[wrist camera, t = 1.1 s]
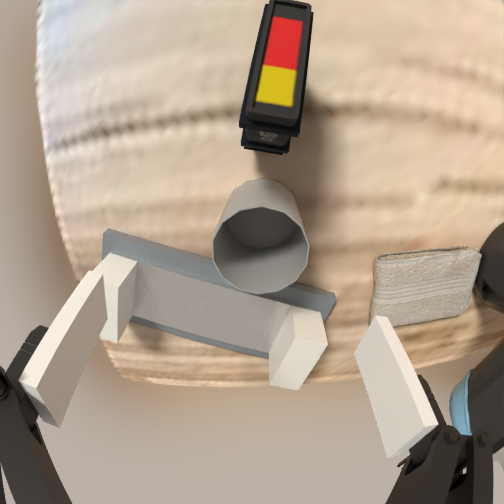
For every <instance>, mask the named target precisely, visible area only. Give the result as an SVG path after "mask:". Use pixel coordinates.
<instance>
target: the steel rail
mask: <svg viewBox="0 0 504 504" xmlns="http://www.w3.org/2000/svg"><path fill="white" fill-rule="evenodd" d="M110 253H112V254H115V255H118V256H122V257H125V258H128V259H131V260H134V261H137V272H136V282H135V293H134V307H133V315H134V316H137V317H140V318H143V319H146V320H149V321H153V322H156V323H159V324H162V325H165V326H168V327H172V328H175V329H178V330H182V331H185V332H189V333H192V334H195V335H199V336H203V337H206V338H210V339H214V340H217V341H221V342H225V343H229V344H233V345H237V346H241V347H245V348H249V349H253V350H258V351H262V352H266V353H269V352H270V350H271V348H272V346H273V344H274V342H275V340H276V338H277V336H278V334H279V332H280V330H281V328H282V326H283V323H284V321H285V319H286V317H287V315H288V313H289V311H290V309H291V307H292V306H296V307H300V308H304V309H308V310H312V311H316V312H320V309H318V308H314V307H310V306H306V305H302V304H298V303H294V302H291V301H287V300H283V299H279V298H275V297H271V296H268V295H264V294H255V293H251V292H247V291H243V290H239V289H237V288H236V287H234V286H231V285H227V284H224V283H220V282H217V281H213V280H210V279H206V278H203V277H199V276H196V275H193V274H189V273H186V272H182V271H179V270H176V269H172V268H169V267H166V266H162V265H159V264H156V263H153V262H149V261H146V260H143V259H140V258H136V257H133V256H130V255H127V254H124V253H121V252H117V251H114V250H112V251H111V252H110ZM320 313H321V312H320Z"/></svg>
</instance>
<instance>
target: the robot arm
mask: <svg viewBox="0 0 504 504" xmlns="http://www.w3.org/2000/svg"><path fill="white" fill-rule="evenodd" d="M479 253H480V254H481V255H482V257H481V259H480V263H479V268H478V272H477V275H476V279H475V282H474V285H473V287H474V291H475V293H476V294H477V296H478V297H479V298H480V299H481V300H482V302H483V303H484V304H486V305H487V306H489V307H491V308H493V309H495V310H497V311H499V312H501V313H503V314H504V223H502V224H501V225H499V226H498V227H497V228H496V229H495V230H494V231H493V232H492V233H491V235H490V236H489V237H488V238H487V240H486V241H485V243H484V245H483V246H482V248H481V250H480V252H479ZM107 319H108V316H107V307H106V298H105V288H104V277H103V274H102V273H98V272H93V271H88V273H87V274H86V275H85V277H84V278H83V279H82V281H81V282H80V283H79V285H78V286H77V288H76V289H75V290H74V292H73V293H72V295H71V296H70V298H69V299H68V301H67V302H66V303H65V305H64V306H63V308H62V309H61V311H60V312H59V314H58V315H57V317H56V318H55V320H54V321H53V323H52V324H51V326H50V328H47V327H44V326H41V325H40V326H38V327H37V328H36V329H34V330H33V331H32V332H31V333H30V334H29V335H28V337H27V339H26V340H25V343H23V345H22V346H21V348H20V350H19V351H18V353H17V354H16V356H15V358H14V359H13V361H12V363H11V364H10V366H9V368H8V369H7V371H6V372H5V370H4V369H3V368H2V367H1V366H0V461H1V465H2V468H3V471H4V473H5V477H6V479H7V482H8V485H9V488H10V490H11V493H12V495H13V498H14V500H15V503H16V504H72V502H71V500H70V498H69V496H68V494H67V493H66V491H65V489H64V487H63V484H62V482H61V480H60V478H59V476H58V474H57V472H56V470H55V467H54V465H53V463H52V460H51V458H50V456H49V453H48V451H47V449H46V446H45V443H44V441H43V438H42V435H41V432H40V429H39V426H38V424H37V422H36V420H37V417H38V415H40V417H41V418H42V419H43V421H44V422H46V423H49V424H51V425H54V426H56V427H59V428H60V426H61V423H62V421H63V418H64V416H65V413H66V410H67V408H68V405H69V403H70V400H71V398H72V395H73V393H74V391H75V388H76V386H77V383H78V381H79V379H80V377H81V374H82V372H83V370H84V367H85V365H86V363H87V361H88V359H89V357H90V354H91V352H92V350H93V348H94V346H95V344H96V341H97V340H98V337H99V335H100V333H101V331H102V329H103V327H104V325H105V323H106V321H107ZM354 355H355V358H356V361H357V364H358V367H359V370H360V373H361V376H362V379H363V381H364V384H365V387H366V390H367V393H368V397H369V400H370V403H371V406H372V409H373V412H374V415H375V419H376V422H377V425H378V428H379V432H380V435H381V438H382V442H383V445H384V449H385V452H386V456H387V458H394V457H399V456H402V455H403V454H404V453H405V452H407V451H408V450H409V452H410V455H409V456H408V457H407V458H405V459H404V460H403V461H401V462H400V463H399V464H398V466H397V467H400V466H401V465H403V464H404V463H405V464H404V466H403V467H402V470H401V473H400V475H399V477H398V479H397V482H396V484H395V486H394V488H393V490H392V492H391V494H390V496H389V498H388V500H387V502H386V504H493V461H498V462H500V463H501V466H502V468H503V470H504V338H503V339H502V340H501V341H500V342H499V343H498V344H497V346H496V347H495V348H494V349H493V350H492V351H491V352H490V353H489V354H488V355H487V356H486V357H485V358H484V359H483V360H482V361H481V362H480V363H479V364H478V365H477V366H476V367H475V368H474V369H471V370H470V371H469V372H468V374H467V375H466V377H465V378H464V379H462V381H461V382H459V383H458V385H456V387H455V388H454V389H453V391H452V393H451V396H450V406H449V409H450V416H451V420H452V425H453V426H450V425H447V424H446V422H445V420H444V418H443V415H442V413H441V411H440V409H439V406H438V404H437V402H436V400H435V398H434V395H433V393H431V389H430V387H429V385H428V383H427V381H426V380H425V379H424V378H423V377H422V376H421V375H416V373H415V371H414V369H413V366H412V364H411V362H410V360H409V358H408V356H407V354H406V352H405V350H404V348H403V346H402V344H401V342H400V340H399V338H398V336H397V335H396V333H395V331H394V329H393V327H392V325H391V323H390V321H389V319H388V318H387V317H384V316H375V317H374V318H373V320H372V322H371V324H370V326H369V328H368V329H367V331H366V333H365V335H364V336H363V338H362V340H361V342H360V343H359V345H358V347H357V349H356V350H355V352H354ZM1 465H0V504H6V500H5V494H4V488H3V481H2V473H1ZM466 467H467V469H466V473H465V474H463V469H464V468H466Z"/></svg>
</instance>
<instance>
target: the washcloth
mask: <svg viewBox="0 0 504 504" xmlns="http://www.w3.org/2000/svg"><path fill="white" fill-rule="evenodd" d="M478 252H479V249H478V248H477V247H468V246H451V247H441V248H430V249H421V250H412V251H403V252H390V253H383V254H379V255H377V256H376V257H375V261H374V273H373V274H374V282H375V286H374V291H373V296H372V299H371V308H370V312H369V314H370V316H369V325H370V324H371V322H372V320H373V318H374V317H375V316H384V317H387V318H388V319H389V321H390V323H391V325H392V326H393V327H394V326H397V325H400V326H401V325H406V324H414V323H420V322H424V321H425V322H427V321H432V320H436V319H441V318H445V317H453V316H456V315H461V314H463V313H464V312H465V309H466V308H468V306H469V299H470V295H471V291H472V289H473V285H474V282H475V279H476V275H477V272H478V268H479V263H480V259H481V257H482V255H481V254H480V253H478Z"/></svg>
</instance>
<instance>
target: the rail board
mask: <svg viewBox="0 0 504 504" xmlns="http://www.w3.org/2000/svg"><path fill="white" fill-rule="evenodd" d="M112 250H114V251H117V252H121V253H124V254H127V255H130V256H133V257H136V258H140V259H143V260H146V261H149V262H153V263H156V264H159V265H162V266H166V267H169V268H172V269H176V270H179V271H182V272H186V273H189V274H193V275H196V276H199V277H203V278H206V279H210V280H213V281H217V282H220V283H224V284H227V285H231V284H230V283H229V282H227V281H226V280H225V279H223V278H222V277H221V275H220V273H219V272H218V270H217V268H216V266H215V264H214V263H213V261H212V259H209V258H206V257H202V256H199V255H196V254H192V253H189V252H185V251H182V250H178V249H175V248H172V247H168V246H165V245H161V244H158V243H155V242H151V241H148V240H145V239H141V238H138V237H135V236H131V235H128V234H125V233H121V232H118V231H115V230H112V229H108V230H106V231H105V232H104V233H103V249H102V260H103V259H104V258H105V257H106V256H107V255H108V254H109V253H110V252H111V251H112ZM231 286H233V285H231ZM263 294H264V295H268V296H271V297H275V298H279V299H283V300H287V301H291V302H294V303H298V304H302V305H306V306H310V307H314V308H318V309H320V312H321V316H322V320H323V323H324V321H325V320H326V318H327V316H328V314H329V312H330V311H331V309H332V307H333V305H334V303H335V301H336V297H335V294H334V293H332V292H328V291H324V290H321V289H317V288H313V287H309V286H306V285H302V284H298V283H295V282H293V283H292V284H290V285H288V286H287V287H285V288H283V289H282V290H280V291H277V292H270V293H263ZM130 320H131V321H134V322H137V323H140V324H143V325H146V326H149V327H152V328H155V329H158V330H161V331H165V332H168V333H171V334H174V335H178V336H181V337H184V338H188V339H191V340H195V341H198V342H202V343H206V344H209V345H213V346H217V347H221V348H225V349H229V350H233V351H237V352H241V353H245V354H249V355H253V356H258V357H262V358H267V359H269V353H266V352H262V351H258V350H253V349H249V348H245V347H241V346H237V345H233V344H229V343H225V342H221V341H217V340H214V339H210V338H206V337H203V336H199V335H195V334H192V333H189V332H185V331H182V330H178V329H175V328H172V327H168V326H165V325H162V324H159V323H156V322H153V321H149V320H146V319H143V318H140V317H137V316H134V315H133V316H132V318H131V319H130Z"/></svg>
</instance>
